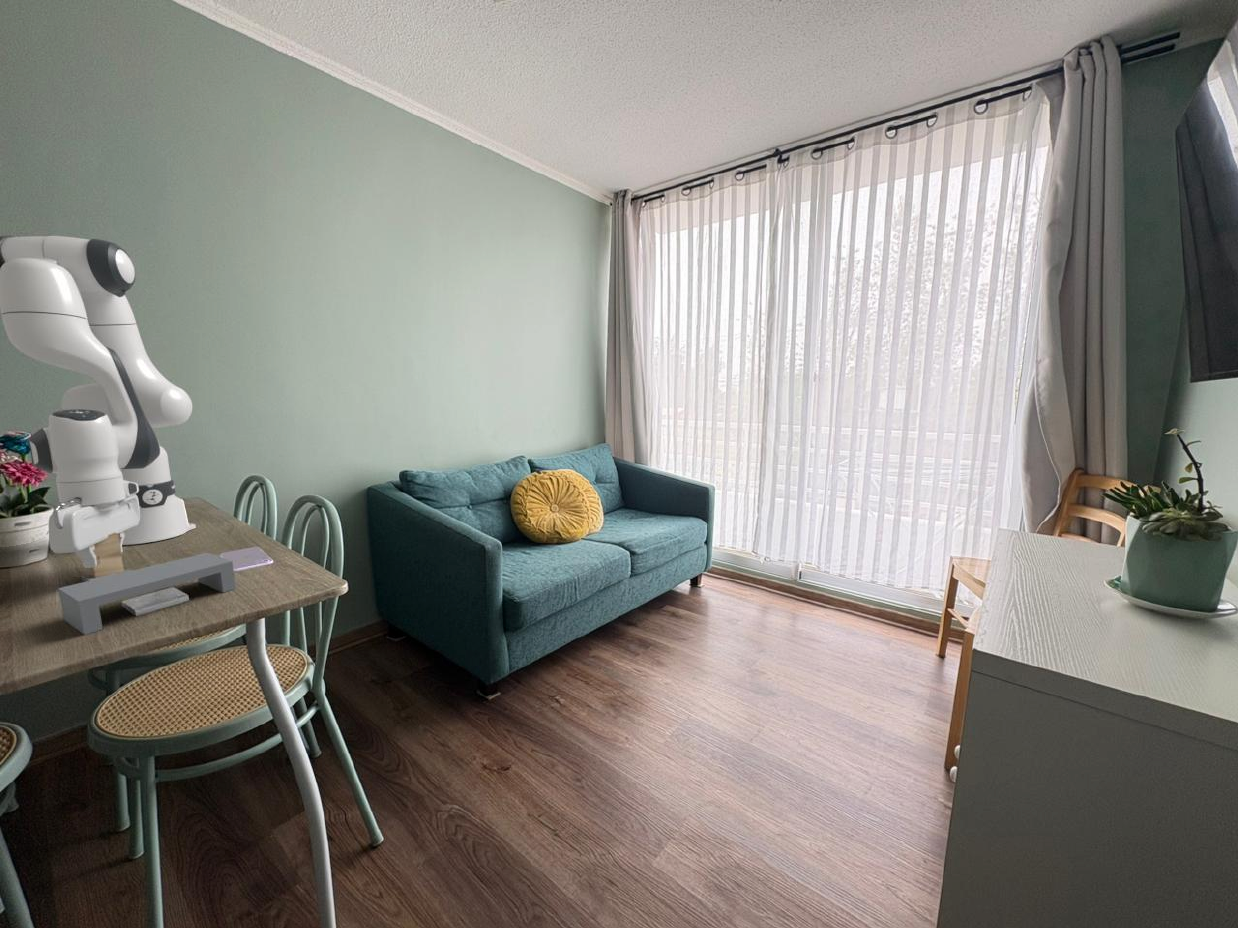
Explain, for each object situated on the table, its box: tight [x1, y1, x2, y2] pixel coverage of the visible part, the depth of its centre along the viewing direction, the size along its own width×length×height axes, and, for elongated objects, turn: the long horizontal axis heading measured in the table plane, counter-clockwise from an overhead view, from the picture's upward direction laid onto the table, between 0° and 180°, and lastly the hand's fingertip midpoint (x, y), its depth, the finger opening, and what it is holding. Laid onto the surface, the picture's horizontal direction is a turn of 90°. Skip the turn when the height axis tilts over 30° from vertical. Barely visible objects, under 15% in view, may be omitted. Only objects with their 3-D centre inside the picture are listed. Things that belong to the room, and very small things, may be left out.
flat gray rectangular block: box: [121, 586, 190, 617], centre depth 85 cm, size 7×7×2 cm
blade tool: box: [81, 532, 133, 582], centre depth 93 cm, size 16×6×9 cm, turn 61°
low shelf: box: [57, 552, 237, 636], centre depth 85 cm, size 10×20×6 cm, turn 151°
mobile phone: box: [219, 546, 274, 572], centre depth 108 cm, size 8×1×15 cm
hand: (104, 560), depth 96 cm, fingers closed on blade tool, 6 cm apart
